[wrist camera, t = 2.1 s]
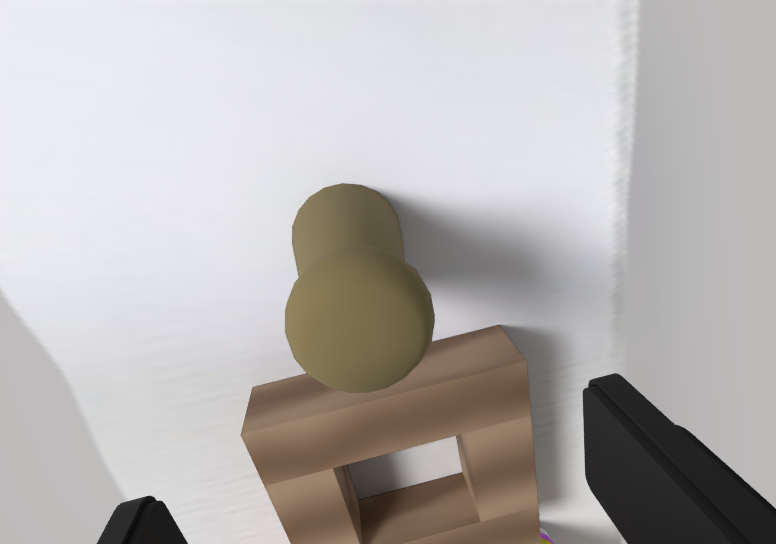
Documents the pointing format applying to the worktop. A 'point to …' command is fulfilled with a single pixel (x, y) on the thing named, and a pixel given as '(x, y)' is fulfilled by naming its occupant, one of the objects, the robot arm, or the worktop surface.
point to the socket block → (401, 431)
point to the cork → (355, 293)
